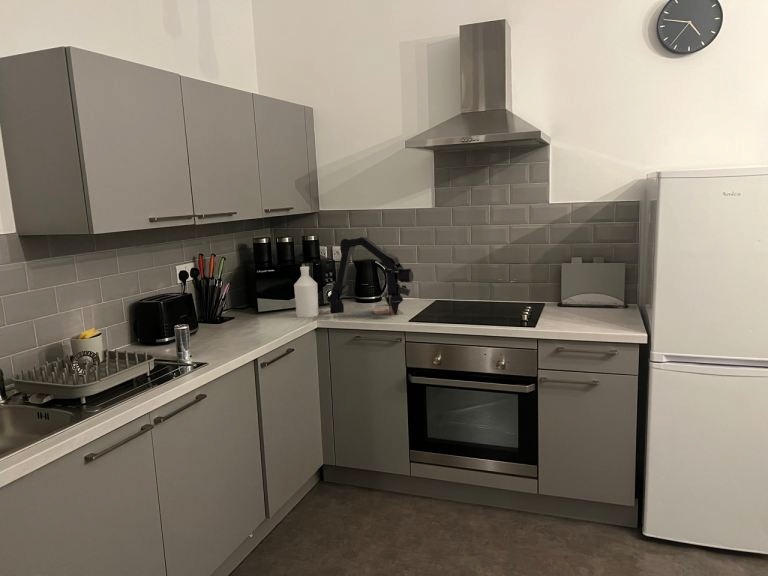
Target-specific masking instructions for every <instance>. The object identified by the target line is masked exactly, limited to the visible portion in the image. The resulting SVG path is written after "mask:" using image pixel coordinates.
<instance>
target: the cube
mask: <svg viewBox="0 0 768 576" xmlns="http://www.w3.org/2000/svg"><path fill="white" fill-rule="evenodd" d="M388 309H389V314H390V315H389V316H399V312H398V310H397V314H396V315H394V312H393V310H392V307H391V306H389V305H388Z"/></svg>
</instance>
